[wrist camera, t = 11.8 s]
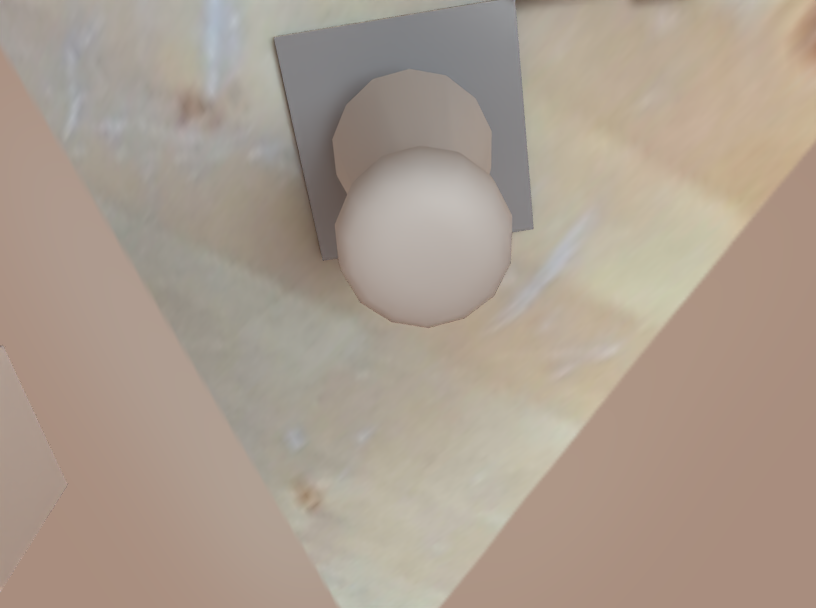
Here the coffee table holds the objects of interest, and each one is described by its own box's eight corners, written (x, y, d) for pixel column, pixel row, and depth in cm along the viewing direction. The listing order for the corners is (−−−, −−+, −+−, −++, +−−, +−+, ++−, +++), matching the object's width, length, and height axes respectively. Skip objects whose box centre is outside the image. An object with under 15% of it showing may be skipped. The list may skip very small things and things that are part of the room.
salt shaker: (362, 224, 29) (340, 392, 17) (318, 87, 27) (257, 172, 15) (499, 187, 28) (573, 334, 17) (466, 43, 26) (526, 96, 14)
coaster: (276, 36, 26) (273, 37, 26) (512, -4, 26) (514, -3, 25) (324, 255, 30) (322, 260, 30) (531, 224, 30) (533, 229, 29)
